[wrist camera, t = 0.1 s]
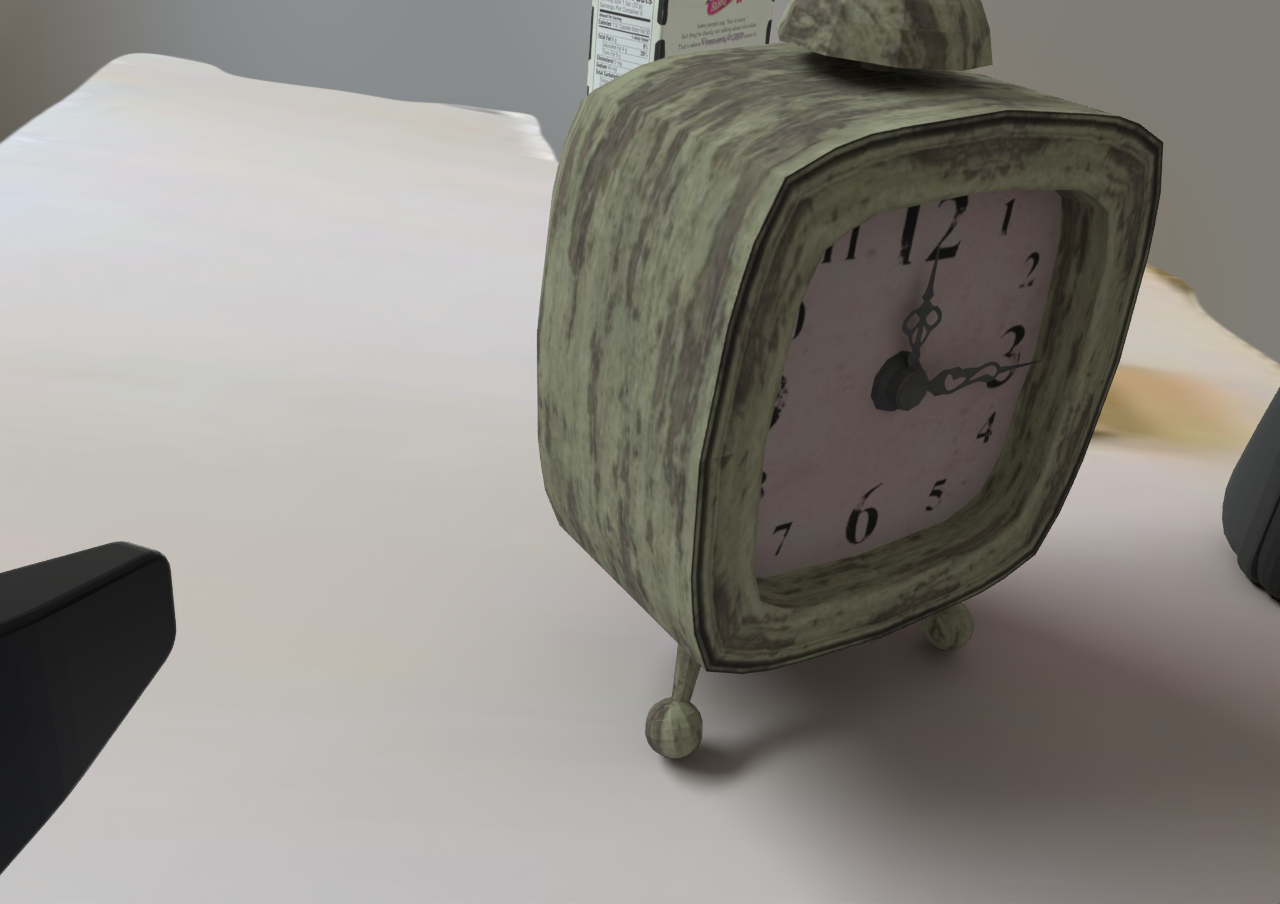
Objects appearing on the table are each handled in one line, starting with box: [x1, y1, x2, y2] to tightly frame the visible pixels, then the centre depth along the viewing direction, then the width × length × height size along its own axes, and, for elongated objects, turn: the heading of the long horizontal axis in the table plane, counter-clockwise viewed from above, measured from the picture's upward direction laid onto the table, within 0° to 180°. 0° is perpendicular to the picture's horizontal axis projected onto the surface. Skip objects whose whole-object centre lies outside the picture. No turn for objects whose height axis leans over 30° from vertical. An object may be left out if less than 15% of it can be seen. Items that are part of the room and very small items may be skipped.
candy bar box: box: [587, 0, 774, 96], centre depth 67 cm, size 11×5×16 cm, turn 144°
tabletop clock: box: [537, 0, 1163, 758], centre depth 32 cm, size 14×9×25 cm, turn 123°
